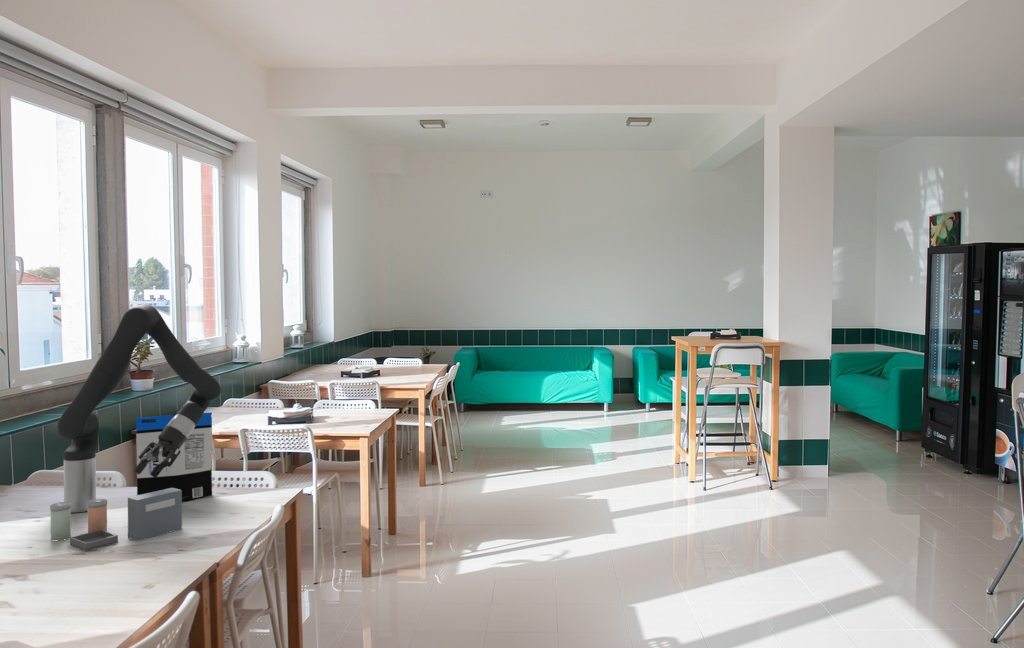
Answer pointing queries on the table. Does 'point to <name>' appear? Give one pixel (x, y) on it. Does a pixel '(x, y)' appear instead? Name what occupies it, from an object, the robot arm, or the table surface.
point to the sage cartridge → (60, 521)
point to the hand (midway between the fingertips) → (144, 474)
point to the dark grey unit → (154, 513)
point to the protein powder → (178, 459)
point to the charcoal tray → (93, 540)
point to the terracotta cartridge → (97, 515)
